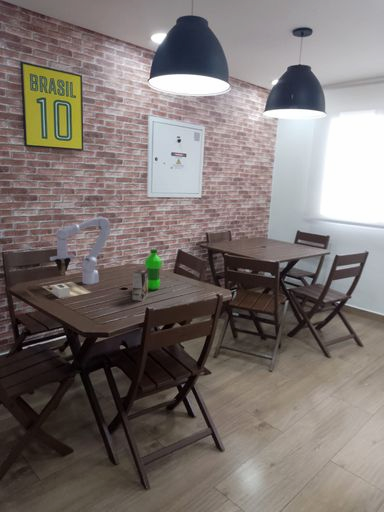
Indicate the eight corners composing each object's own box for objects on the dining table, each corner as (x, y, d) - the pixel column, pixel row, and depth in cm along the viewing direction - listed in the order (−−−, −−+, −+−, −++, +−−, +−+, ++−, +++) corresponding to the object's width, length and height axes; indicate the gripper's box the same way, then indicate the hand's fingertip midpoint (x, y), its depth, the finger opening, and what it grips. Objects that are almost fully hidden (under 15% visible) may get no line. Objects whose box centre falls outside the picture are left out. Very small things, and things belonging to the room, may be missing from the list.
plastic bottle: (147, 285, 236) (148, 247, 231) (162, 287, 234) (164, 248, 229) (142, 289, 227) (142, 250, 221) (158, 291, 225) (159, 251, 219)
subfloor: (72, 283, 232) (72, 281, 232) (91, 294, 213) (91, 292, 213) (42, 288, 219) (42, 286, 219) (60, 300, 201) (60, 298, 200)
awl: (64, 273, 224) (64, 262, 223) (66, 274, 222) (66, 264, 221) (59, 273, 222) (58, 263, 221) (61, 275, 220) (61, 264, 218)
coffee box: (142, 301, 206) (143, 273, 203) (132, 299, 208) (132, 272, 204) (148, 296, 215) (148, 269, 212) (137, 295, 216) (138, 268, 213)
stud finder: (63, 291, 211) (62, 282, 210) (69, 295, 205) (69, 286, 203) (52, 293, 207) (52, 284, 206) (59, 297, 201) (59, 288, 199)
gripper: (52, 251, 211) (53, 273, 214) (76, 248, 221) (77, 270, 224) (48, 248, 216) (48, 271, 219) (71, 246, 226) (72, 268, 229)
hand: (62, 270), depth 222 cm, fingers closed on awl, 3 cm apart
